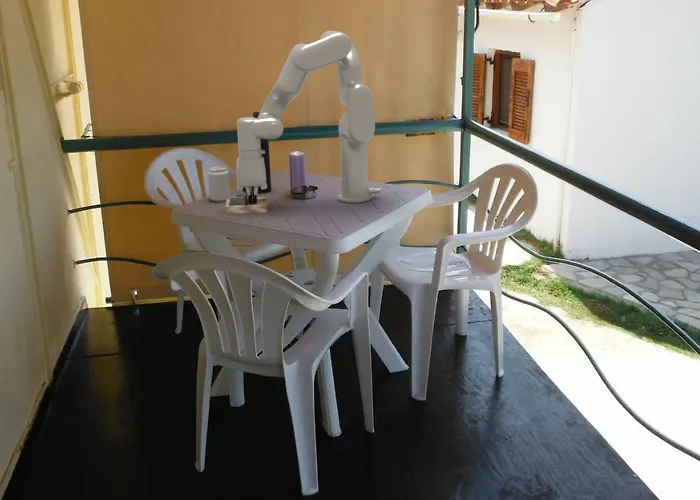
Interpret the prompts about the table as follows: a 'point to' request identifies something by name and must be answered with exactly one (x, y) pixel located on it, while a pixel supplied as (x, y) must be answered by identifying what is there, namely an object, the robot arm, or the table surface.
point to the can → (219, 184)
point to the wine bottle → (264, 146)
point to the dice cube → (238, 200)
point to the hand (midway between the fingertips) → (253, 205)
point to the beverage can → (297, 169)
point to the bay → (247, 207)
